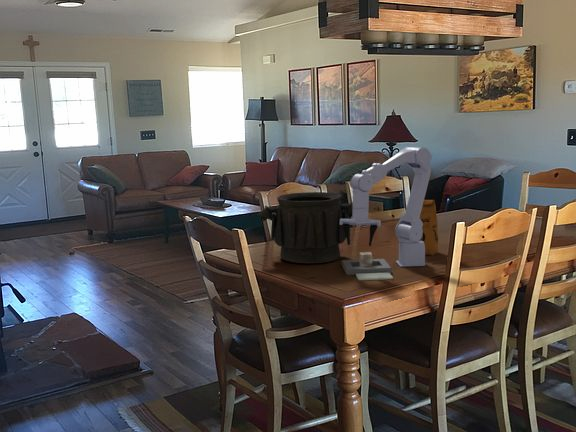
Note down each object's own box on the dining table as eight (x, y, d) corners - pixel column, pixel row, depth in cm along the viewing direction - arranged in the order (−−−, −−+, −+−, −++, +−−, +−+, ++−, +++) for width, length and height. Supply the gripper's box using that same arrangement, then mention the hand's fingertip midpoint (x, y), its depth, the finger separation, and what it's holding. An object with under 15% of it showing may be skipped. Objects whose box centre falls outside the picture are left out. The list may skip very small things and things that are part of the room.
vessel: (255, 258, 256) (252, 197, 252) (313, 246, 276) (312, 188, 272) (305, 272, 233) (303, 204, 229) (365, 257, 253) (365, 195, 249)
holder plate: (383, 263, 242) (383, 258, 242) (391, 273, 228) (391, 267, 228) (341, 265, 241) (341, 260, 241) (346, 274, 228) (346, 269, 227)
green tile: (389, 274, 227) (389, 272, 227) (393, 279, 220) (393, 277, 220) (355, 275, 227) (355, 273, 227) (358, 280, 220) (358, 278, 220)
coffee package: (432, 257, 251) (433, 201, 247) (403, 253, 258) (403, 199, 254) (441, 252, 259) (442, 198, 255) (413, 248, 266) (413, 196, 262)
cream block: (370, 267, 237) (370, 252, 236) (372, 270, 233) (372, 254, 232) (359, 268, 237) (359, 252, 236) (361, 270, 233) (361, 254, 232)
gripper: (339, 208, 225) (338, 246, 227) (380, 210, 222) (379, 248, 224) (341, 205, 232) (340, 242, 234) (381, 207, 229) (380, 244, 231)
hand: (359, 245), depth 229 cm, fingers open, 7 cm apart
